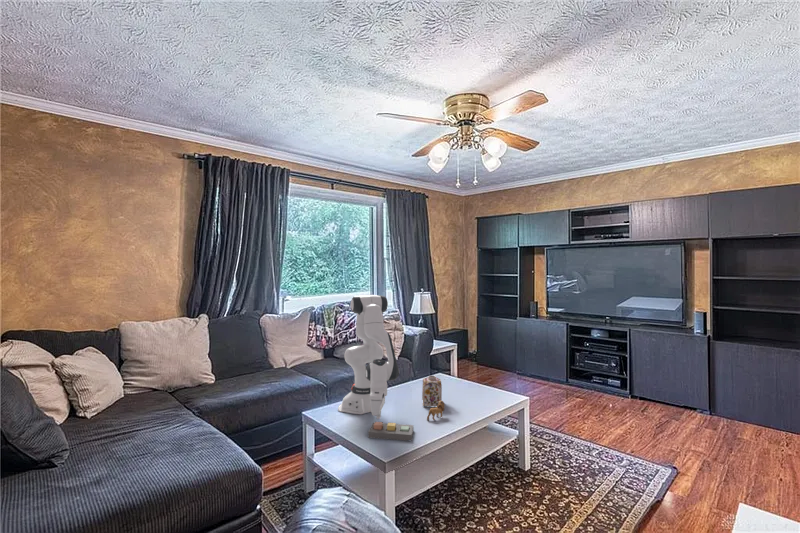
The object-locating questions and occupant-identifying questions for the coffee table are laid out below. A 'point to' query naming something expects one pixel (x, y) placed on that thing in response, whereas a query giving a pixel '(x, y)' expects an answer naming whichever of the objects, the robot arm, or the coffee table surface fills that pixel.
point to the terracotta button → (378, 425)
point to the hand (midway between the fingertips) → (378, 418)
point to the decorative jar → (431, 391)
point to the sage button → (405, 428)
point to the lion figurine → (436, 410)
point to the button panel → (391, 433)
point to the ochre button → (391, 426)
